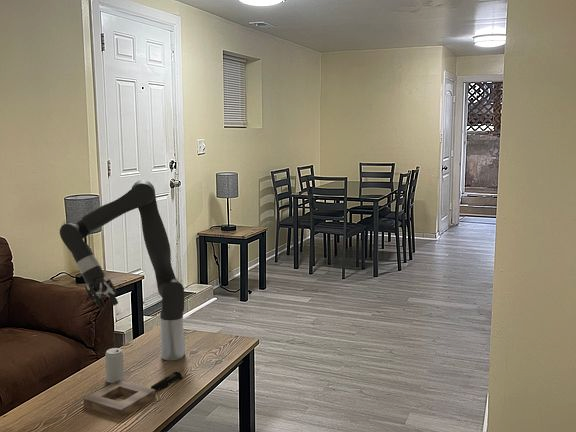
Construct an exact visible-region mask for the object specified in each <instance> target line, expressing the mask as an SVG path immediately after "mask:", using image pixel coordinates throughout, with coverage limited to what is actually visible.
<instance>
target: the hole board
mask: <svg viewBox="0 0 576 432" xmlns="http://www.w3.org/2000/svg"><path fill="white" fill-rule="evenodd" d="M119 395H121V396H125V397H127V398H125V399H124V400H122V401H118V400H115V399H114V398H116V397H117V396H119ZM154 399H156V391H155V389H151V387H147V386H143V385H140V384H136V383H132V382H129V381H125V380H118V381H116V382H114V383H109V385H106V386H104V387H103V388H101V389H99V390H97V391H95V392H93V393H91V394H89V395H87V396H86V397H84V398H83V399H82V400H83V408H87V409H90V410H93V411H96V412H100V413H103V414H105V415H106V414H107V415H109V416H112V417H115V418H118V419H123V418H125V417H126V416H127V415H130V414H131V413H132V412H134V411H136V410H137V409H140V408H141V407H143V406H144V405H146V404H148V403H149V402H151V401H153V400H154Z"/></svg>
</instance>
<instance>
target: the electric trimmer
mask: <svg viewBox="0 0 576 432" xmlns="http://www.w3.org/2000/svg"><path fill="white" fill-rule="evenodd" d="M179 379H180V380H183V375H182V373H181V372H179V371H174V372H172V373H171V374H169V375H168V376H166V377H164V378H162V380H160V381H158V382H156V383H154V384H153V385H151V386H150V388H151V389H155V392H157V391H160V390H162V389H165V388H167V387H168V386H169V385H170V384H173V383H174V382H176V381H177V380H179Z"/></svg>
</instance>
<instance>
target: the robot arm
mask: <svg viewBox="0 0 576 432" xmlns="http://www.w3.org/2000/svg"><path fill="white" fill-rule="evenodd" d="M157 203H158V202H157V197H156V188H155V187H154V185H153V184H152V182H150V181H149V180H146V179H140V180H137V181H136V182H134V184H133V185H132V186H131V189H129V191H127V192H126V193H124V194H123V195H122V196H120V197H119V198H117V199H115V200H113V201H111V202H108V203H105V204H103V205H101V206H99V207H97V208H95V209H94V210H93V209H92V211H90V212H88V213H86V214H85V215H83V216H82V217H81V220H79V221H78V222H76V223H71V222H66V223H64V224H62V225H61V227H60V228H59V236H60V238H61V240H62V242H63V243H64V245H65V246H66V247H67V249H68V250H69V252H70V253H71V255H72V257H73V258H74V261H75V263H76V264H77V268H78V270H79V272H80V274H81V276H82V278H83V280H84V283H85V284H86V285H85V286H84V288H85V290H86V291H85V292H86V293H87V295H88V298H89V299H90V301H93V302H96V304H97V306H98V308H99V309H100V310H104V309H105V308H106V303H105V302H104V300H103V298H102V294H103V295H106V296H107V297H108V298H109V300H110V303H111V304H112V306H117V305H119V300H118V299H117V297H116V295H115V294H116V293H117V292H118V291H117V289H116V286H114V284H113V282H112V280H111V279H109V278H108V279H107V280H105V278H104V277H105V275H106V274H105V272H104V271H103V269H102V266H101V265H100V262H99V261H98V259H97V257H96V256H95V254H94V253H93V251H92V249H91V247H90V246H89V244H88V243H86V242H85V240H84V239H85V238H86V237H88V236H89V235H90V234H92V232H93V231H96V230H97V229H100V228H102V227H103V226H105V225H107V224H108V223H110V222H112V221H113V220H115V219H117V218H119V217H120V216H122V215H124V214H126V213H128V212H130V211H134V210H136V209H138V211H139V215H140V221H141V229H142V236H143V240H144V244H145V248H146V251H147V255H148V257H149V259H150V263H151V265H152V267H153V269H154V270H153V271H154V275H155V280H156V286H157V291H158V294H159V296H160V297H161V302H162V304H161V310H160V312H159V314H160V315H159V316H160V318H159V319H160V320H159V321H160V322H159V323H160V353H161V354H160V357H161V359H162V360H165V361H177V360H180V359H182V358H184V356H185V354H186V346H185V345H186V344H185V343H186V342H185V340H186V338H185V337H186V336H185V332H184V312H185V288H184V286H183V283H181V282H179V281H178V278H177V277H176V275H175V273H174V269H173V266H172V254H171V244H170V241H169V237H168V233H167V231H166V228H165V225H164V223H163V220H162V217H161V214H160V212H159V209H158V207H159V206H158V204H157Z"/></svg>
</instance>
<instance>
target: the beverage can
mask: <svg viewBox="0 0 576 432" xmlns="http://www.w3.org/2000/svg"><path fill="white" fill-rule="evenodd" d="M104 355H105V377H106V378H105V380H106V381H107V383H109V384H112V383H114V382H116V381H118V380H122V381H124V378H125V371H124V370H125V369H124V366H125V365H124V352H123V349H121V348H119V347H113V348H109V349H107V350H106V352H105V354H104Z"/></svg>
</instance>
